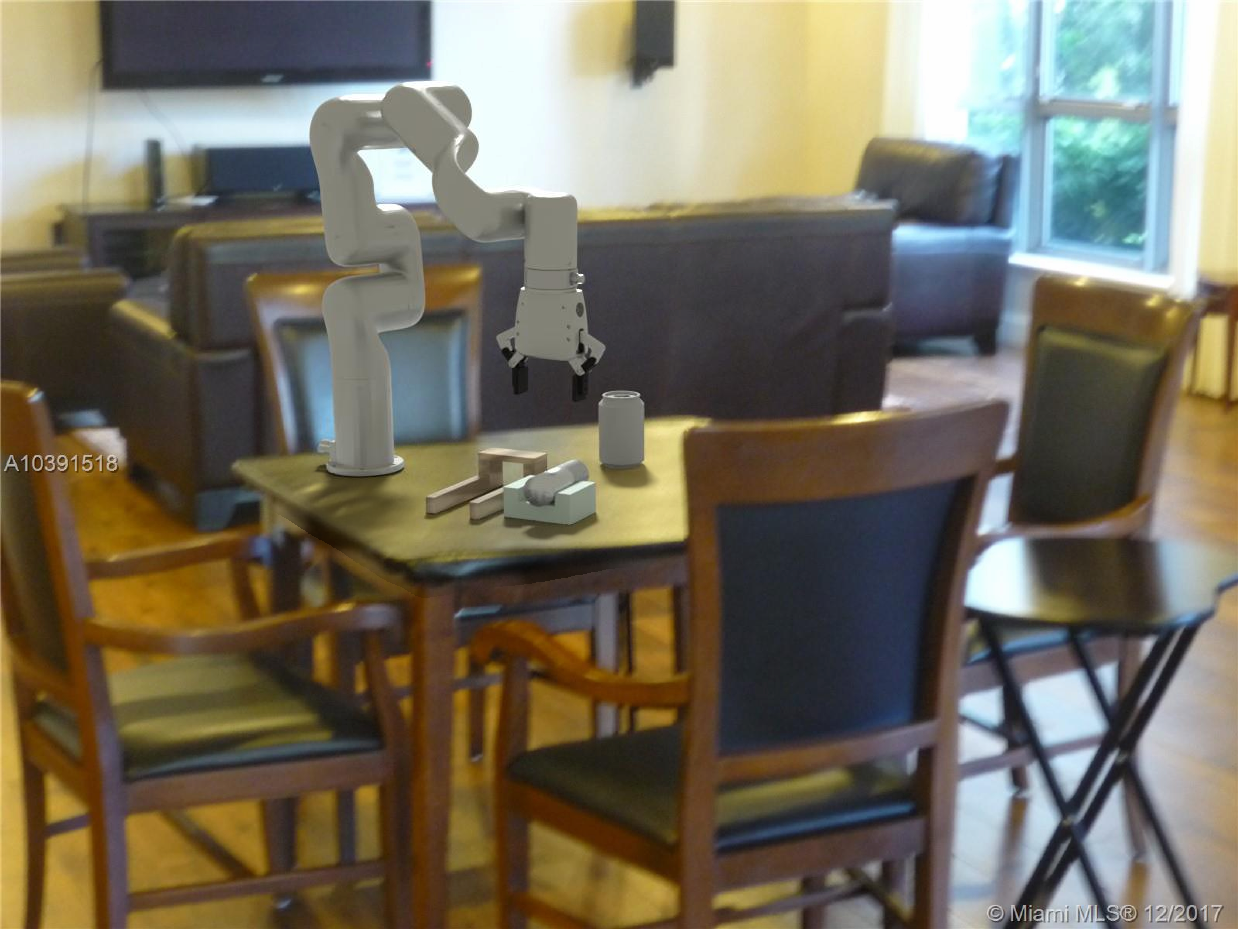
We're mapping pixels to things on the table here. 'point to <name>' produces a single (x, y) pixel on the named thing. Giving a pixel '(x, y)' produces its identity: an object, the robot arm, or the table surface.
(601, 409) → the can
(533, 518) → the v block
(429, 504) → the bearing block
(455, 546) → the table surface
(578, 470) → the axle
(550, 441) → the table surface
